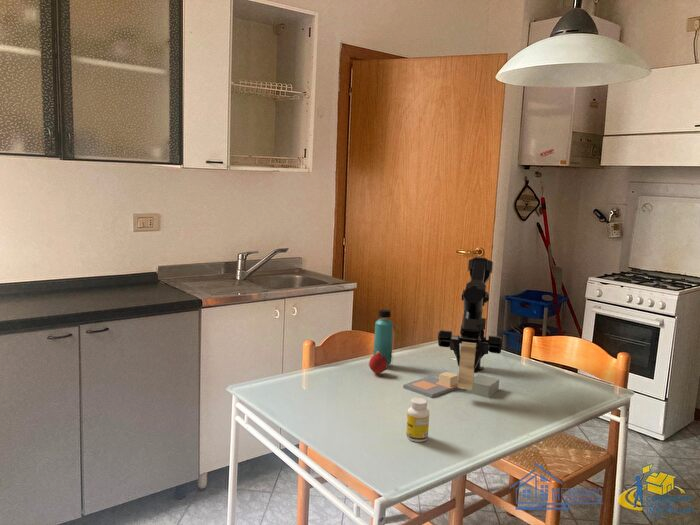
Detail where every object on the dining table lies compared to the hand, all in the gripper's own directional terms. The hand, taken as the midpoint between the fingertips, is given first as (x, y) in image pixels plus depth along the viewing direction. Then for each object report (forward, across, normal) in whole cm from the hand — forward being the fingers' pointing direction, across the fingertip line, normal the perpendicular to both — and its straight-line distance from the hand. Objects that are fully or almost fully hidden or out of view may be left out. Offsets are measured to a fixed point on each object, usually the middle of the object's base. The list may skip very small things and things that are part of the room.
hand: (466, 366), depth 171 cm
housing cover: (-1, +5, +17) cm, 17 cm away
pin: (+4, 0, +6) cm, 7 cm away
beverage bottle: (-9, -30, +25) cm, 40 cm away
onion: (-2, -29, +18) cm, 35 cm away
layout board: (+2, -11, +14) cm, 18 cm away
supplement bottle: (+29, -9, -13) cm, 33 cm away
